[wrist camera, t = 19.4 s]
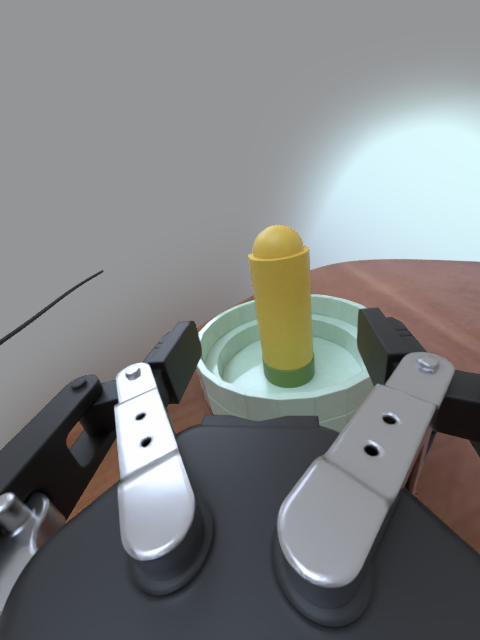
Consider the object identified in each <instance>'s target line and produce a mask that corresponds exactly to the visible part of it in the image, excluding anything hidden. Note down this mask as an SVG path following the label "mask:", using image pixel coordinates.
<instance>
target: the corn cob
mask: <svg viewBox="0 0 480 640" xmlns="http://www.w3.org/2000/svg"><path fill="white" fill-rule="evenodd" d="M248 260H249V267H250V274H251V280H252V287H253V294H254V301H255V307H256V314H257V321H258V327H259V334H260V341H261V348H262V354H263V355H262V361H263V368H264V374H265V377H266V379H267V380H268V381H269V382H270V383H272V384H273V385H275V386H278V387H283V388H295V387H300V386H302V385H305V384H306V383H308V382H309V381H310V380H311V379H312V378H313V376H314V374H315V360H314V352H313V336H312V310H311V284H310V258H309V247H307V246H305V245H303V242H302V239H301V237H300V236H299V234H298V233H297V232H296V231H295V230H294V229H292V228H290V227H288V226H285V225H274V226H270V227H268V228H266V229H265V230H263V231H262V232H261V233H260V234H259V235H258V237H257V238H256V240H255V242H254V245H253V252H252V253H251V254H249V256H248Z"/></svg>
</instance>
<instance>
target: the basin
mask: <svg viewBox="0 0 480 640" xmlns="http://www.w3.org/2000/svg"><path fill="white" fill-rule="evenodd" d="M362 308H366V307H364V306H362V305H360V304H357V303H354V302H351V301H349V300H346V299H341V298H337V297H332V296H327V295H315V294H311V310H312V336H313V352H314V360H315V374H314V376H313V378H312V379H311V380H310V381H309V382H308V383H306V384H305V385H302V386H300V387H295V388H283V387H278V386H275V385H273V384H272V383H270V382H269V381H268V380H267V379H266V377H265V374H264V368H263V361H262V355H263V354H262V348H261V341H260V334H259V327H258V321H257V314H256V307H255V301H254V300H252V301H249V302H246V303H243V304H241V305H238V306H235V307H233V308H231V309H229V310H227V311H225V312H223V313H221V314H219V315H218V316H217V317H215V318H214V319H213V320H211V321H210V322H208V323H207V324H206V325H205V327H204V328H203V329H202V330H201V331H200V332H199V334H198V335H199V339H200V342H201V346H202V356H201V359H200V361H199V363H198V365H197V367H196V369H197V373H198V376H199V379H200V382H201V386H202V389H203V392H204V396H205V399H206V401H207V403H208V405H209V407H210V409H211V411H212V413H213V414H214V415H232V416H236V417H240V418H244V419H248V420H253V421H264V420H269V419H274V418H279V417H284V416H318V418H319V425H320V426H324V427H327V428H330V429H333V430H335V431H337V432H339V433H341V432H342V430H343V429H344V428H345V426H346V425H347V424H348V422H349V421H350V419H351V418H352V417H353V415H354V414H355V413H356V411H357V410H358V408H359V407H360V406H361V404H362V403H363V402H364V400H365V399H366V397H367V396H368V395H369V393H370V392H371V391H372V389H373V388H374V385H373V383H372V381H371V378H370V376H369V374H368V372H367V369H366V367H365V365H364V362H363V360H362V358H361V356H360V353H359V351H358V347H357V326H358V312H359V309H362Z"/></svg>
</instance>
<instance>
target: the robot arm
mask: <svg viewBox="0 0 480 640" xmlns="http://www.w3.org/2000/svg"><path fill="white" fill-rule="evenodd" d="M103 272H104V271H103V270H102V271H100V272H98V273H96V274H94V275H93V276H91V277H89V278H88V279H86V280H84V281H83V282H81V283H80V284H78V285H76V286H75V287H73V288H72V289H70V290H69V291H67V292H66V293H64V294H63V295H62V296H60V297H59V298H58V299H56V300H55V301H54V302H52V303H51V304H50V305H48V306H47V307H45V308H44V309H43V310H41V311H40V312H39V313H38V314H36V315H35V316H33V317H32V318H31V319H29V320H28V321H27V322H25V323H24V324H22V325H21V326H19V327H18V328H17V329H15V330H14V331H12V332H11V333H9V334H8V335H7V336H5V337H4V338H2V339H1V340H0V345H1V344H3V343H4V342H5V341H7V340H8V339H10V338H11V337H12V336H14V335H15V334H16V333H18V332H19V331H21V330H22V329H23V328H25V327H26V326H27V325H29V324H30V323H31V322H33V321H34V320H35V319H37V318H38V317H39V316H41V315H42V314H43V313H45V312H46V311H47V310H48V309H50V308H51V307H52V306H53V305H55V304H56V303H57V302H59V301H60V300H61V299H63V298H64V297H65V296H66V295H68V294H69V293H71V292H72V291H74V290H75V289H76V288H78V287H79V286H81V285H82V284H84V283H85V282H87V281H89V280H91V279H92V278H94V277H96V276H97V275H99V274H101V273H103ZM357 347H358V351H359V353H360V356H361V358H362V360H363V362H364V365H365V367H366V369H367V372H368V374H369V376H370V378H371V381H372V383H373V385H374V388H373V389H372V391H371V392H370V393H369V395H368V396H367V397H366V399H365V400H364V402H363V403H362V404H361V406H360V407H359V408H358V410H357V411H356V413H355V414H354V415H353V417H352V418H351V419H350V421H349V422H348V424H347V425H346V426H345V428H344V429H343V430H342V432H341V433H339V432H337V431H335V430H333V429H330V428H327V427H324V426H320V425H319V418H318V416H284V417H279V418H274V419H269V420H264V421H253V420H248V419H244V418H240V417H236V416H232V415H204V416H203V419H202V422H201V424H198V425H195V426H192V427H189V428H187V429H185V430H183V431H181V432H179V433H178V434H176V432H175V429H174V426H173V424H172V421H171V418H170V415H169V413H168V410H167V406H168V404H179V402H180V400H181V398H182V396H183V394H184V392H185V390H186V388H187V386H188V384H189V381H190V379H191V377H192V375H193V373H194V371H195V369H196V367H197V365H198V363H199V361H200V359H201V356H202V346H201V342H200V339H199V335H198V331H197V328H196V324H195V322H194V321H184V322H179V323H177V325H176V326H175V327H174V329H173V330H172V331H170V332H169V333H167V334H166V335H164V336H163V337H162V338H161V339H160V341H159V342H158V344H156V346H155V347H154V349H153V350H152V351H151V352H150V353H149V354H148V356H147V357H146V358H145V359H144V361H143V362H142V363H136V364H133V365H130V366H128V367H126V368H125V369H123V370H122V371H121V372H120V373H119V374H118V375H117V377H116V380H112V381H108V382H104V383H100V381H99V379H98V377H97V376H96V375H85V376H82V377H79V378H77V379H75V380H74V381H72V382H70V383H69V384H68V385H66V386H65V387H64V388H63V389H62V390H61V391H60V392H59V393H58V394H57V395H56V396H55V397H54V398H53V399H52V400H51V401H50V402H49V403H48V404H47V405H46V406H45V407H44V408H43V409H42V410H41V411H40V412H39V413H38V414H37V415H36V416H35V417H34V418H33V419H32V420H31V421H30V422H29V423H28V424H27V425H26V426H25V427H24V428H23V429H22V430H21V431H20V432H19V433H18V434H17V435H16V436H15V437H14V438H13V439H12V440H11V441H10V442H9V443H8V444H7V445H6V446H5V447H4V448H3V449H2V450H1V451H0V640H480V555H479V554H478V553H477V552H476V551H475V550H474V549H473V548H472V547H470V546H469V545H468V544H467V543H466V542H465V541H464V540H463V539H462V538H460V537H459V536H458V535H457V534H456V533H455V532H454V531H453V530H452V529H450V528H449V527H448V526H447V525H446V524H445V523H444V522H443V521H442V520H440V519H439V518H438V517H437V516H436V515H435V514H434V513H433V512H432V511H431V510H429V509H428V508H427V507H426V506H425V505H424V504H423V503H422V502H421V501H419V500H418V499H417V498H416V497H415V496H414V493H415V490H416V487H417V484H418V481H419V478H420V475H421V472H422V470H423V467H424V465H425V462H426V460H427V457H428V455H429V453H430V450H431V448H432V445H433V443H434V440H435V438H436V435H437V433H438V432H441V433H445V434H448V435H452V436H456V437H460V438H464V439H468V440H469V441H470V443H471V444H472V446H473V447H474V449H475V450H476V452H477V454H478V455H479V457H480V374H475V373H469V372H463V371H458V370H455V368H454V366H453V364H452V363H451V362H450V361H448V360H447V359H445V358H443V357H441V356H439V355H436V354H432V353H427V352H426V350H425V349H424V348H423V347H422V346H421V345H420V343H419V342H418V341H417V340H416V339H415V337H414V336H412V334H411V333H410V331H408V329H407V328H406V327H405V325H404V324H403V323H402V322H400V321H398V320H396V319H394V318H393V317H387V318H386V317H385V316H384V315H383V313H382V312H381V311H380V309H379V308H378V307H376V308H362V309H359V312H358V326H357ZM78 421H79V422H80V423H81V425H82V426H83V428H84V431H83V432H82V433H81V435H80V436H79V437H78V439H77V440H76V441H75V443H74V444H73V445H72V447H71V448H70V449H68V447H67V445H66V439H67V436H68V434H69V432H70V431H71V430H72V428H73V427H74V426H75V425H76V423H77V422H78ZM116 437H117V444H118V455H119V466H120V480H119V481H118V482H117V483H115V484H114V485H113V486H112V487H110V488H109V489H108V490H107V491H105V492H104V493H103V494H102V495H101V496H99V497H98V498H97V499H96V500H94V501H93V502H92V503H91V504H89V505H88V506H87V507H86V508H85V509H83V510H82V511H81V512H80V513H78V514H77V515H76V516H75V517H73V518H72V519H71V520H70V521H69V522H67V523H66V524H65V522H66V520H67V518H68V517H69V515H70V513H71V512H72V510H73V508H74V507H75V505H76V504H77V502H78V500H79V499H80V497H81V495H82V494H83V492H84V490H85V489H86V487H87V485H88V484H89V482H90V480H91V479H92V477H93V475H94V474H95V472H96V470H97V469H98V467H99V465H100V464H101V462H102V460H103V459H104V457H105V455H106V454H107V452H108V450H109V449H110V447H111V445H112V444H113V442H114V440H115V439H116Z"/></svg>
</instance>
